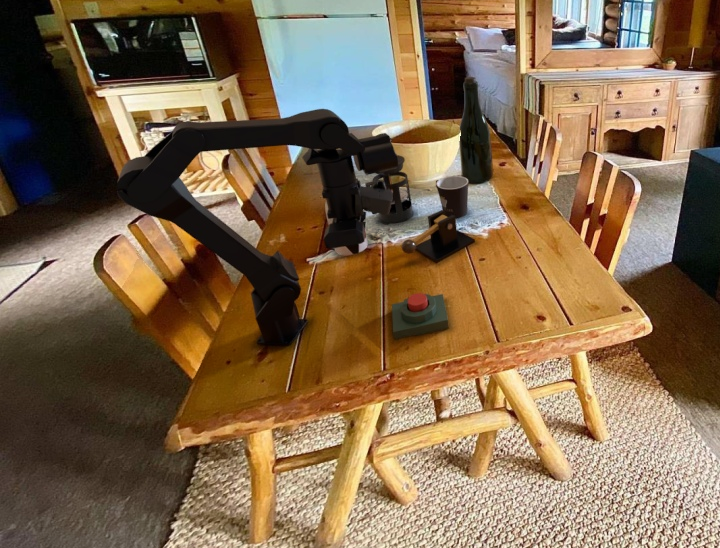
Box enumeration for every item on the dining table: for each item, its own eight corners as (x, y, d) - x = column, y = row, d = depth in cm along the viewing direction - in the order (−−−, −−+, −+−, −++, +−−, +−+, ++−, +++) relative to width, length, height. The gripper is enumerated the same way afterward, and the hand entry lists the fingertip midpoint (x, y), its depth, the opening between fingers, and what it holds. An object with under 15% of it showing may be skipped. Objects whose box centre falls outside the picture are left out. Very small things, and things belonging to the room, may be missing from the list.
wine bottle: (466, 186, 141) (457, 82, 126) (458, 174, 149) (448, 75, 134) (497, 180, 145) (492, 79, 130) (488, 169, 153) (481, 72, 138)
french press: (410, 205, 130) (398, 130, 119) (421, 218, 123) (409, 140, 112) (369, 215, 124) (353, 138, 113) (378, 230, 117) (361, 149, 106)
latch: (409, 258, 100) (405, 247, 98) (401, 253, 102) (396, 242, 100) (452, 226, 107) (449, 216, 105) (444, 222, 109) (440, 212, 107)
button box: (394, 340, 82) (391, 324, 80) (393, 312, 88) (390, 297, 87) (449, 328, 84) (446, 312, 83) (443, 302, 91) (441, 286, 89)
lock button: (409, 314, 83) (407, 307, 82) (408, 302, 86) (406, 295, 85) (428, 310, 84) (427, 302, 83) (426, 298, 87) (425, 291, 86)
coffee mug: (474, 218, 122) (471, 186, 118) (443, 224, 119) (439, 191, 115) (464, 200, 132) (462, 170, 127) (436, 205, 129) (432, 174, 125)
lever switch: (436, 264, 103) (432, 232, 99) (414, 250, 108) (409, 219, 104) (475, 243, 111) (472, 212, 107) (452, 231, 116) (449, 201, 112)
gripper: (386, 196, 73) (400, 272, 80) (385, 157, 89) (397, 223, 96) (314, 206, 70) (335, 284, 77) (326, 163, 86) (342, 231, 93)
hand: (356, 252), depth 86 cm, fingers closed
